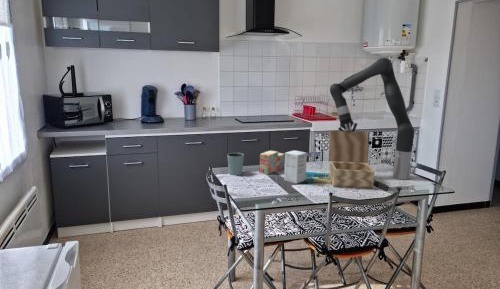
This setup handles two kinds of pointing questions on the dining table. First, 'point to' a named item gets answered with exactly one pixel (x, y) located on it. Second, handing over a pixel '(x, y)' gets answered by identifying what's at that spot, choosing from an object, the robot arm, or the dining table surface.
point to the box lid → (348, 146)
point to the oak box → (351, 175)
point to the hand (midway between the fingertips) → (351, 139)
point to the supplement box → (295, 166)
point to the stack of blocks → (271, 161)
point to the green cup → (235, 163)
